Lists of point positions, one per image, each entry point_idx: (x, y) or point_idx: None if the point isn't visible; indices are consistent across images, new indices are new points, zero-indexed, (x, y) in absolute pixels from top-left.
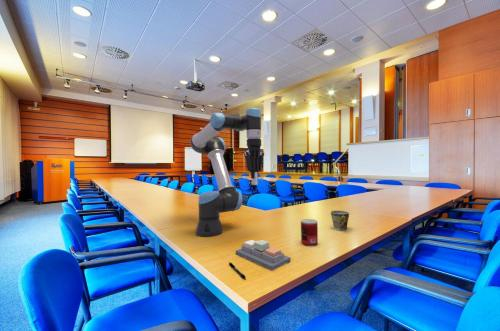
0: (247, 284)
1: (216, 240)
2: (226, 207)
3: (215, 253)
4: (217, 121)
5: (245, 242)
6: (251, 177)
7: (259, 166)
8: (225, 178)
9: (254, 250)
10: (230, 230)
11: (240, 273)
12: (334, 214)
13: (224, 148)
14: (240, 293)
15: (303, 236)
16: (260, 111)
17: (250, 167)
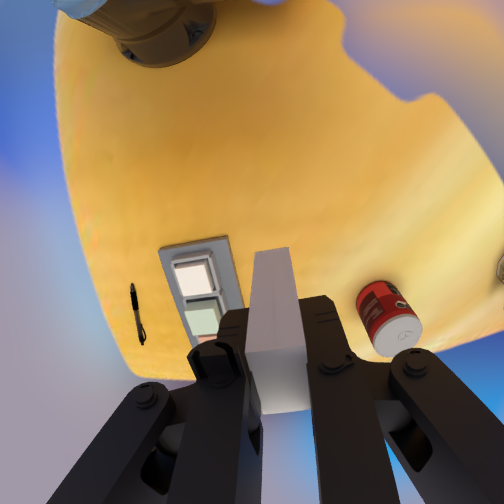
0: (142, 354)
1: (152, 112)
2: (203, 2)
3: (118, 214)
4: None
5: (177, 272)
6: (224, 325)
7: (406, 465)
8: None
9: (185, 308)
10: (247, 32)
11: (138, 332)
12: None
13: None
14: (128, 361)
15: (362, 313)
16: None
17: (148, 473)
